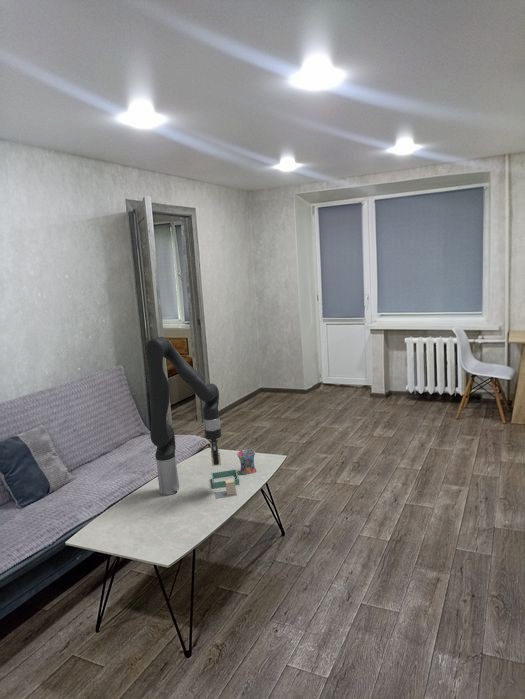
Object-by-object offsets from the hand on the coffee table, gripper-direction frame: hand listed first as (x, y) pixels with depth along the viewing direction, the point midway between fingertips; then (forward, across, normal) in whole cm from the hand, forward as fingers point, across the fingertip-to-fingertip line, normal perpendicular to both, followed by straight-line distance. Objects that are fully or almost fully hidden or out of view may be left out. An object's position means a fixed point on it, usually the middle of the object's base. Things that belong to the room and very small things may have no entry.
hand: (216, 462), depth 235 cm
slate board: (+15, +5, +3) cm, 16 cm away
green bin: (+15, -10, +4) cm, 18 cm away
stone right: (+14, +5, +5) cm, 16 cm away
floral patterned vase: (+15, -20, +16) cm, 30 cm away
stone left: (+1, 0, 0) cm, 1 cm away
